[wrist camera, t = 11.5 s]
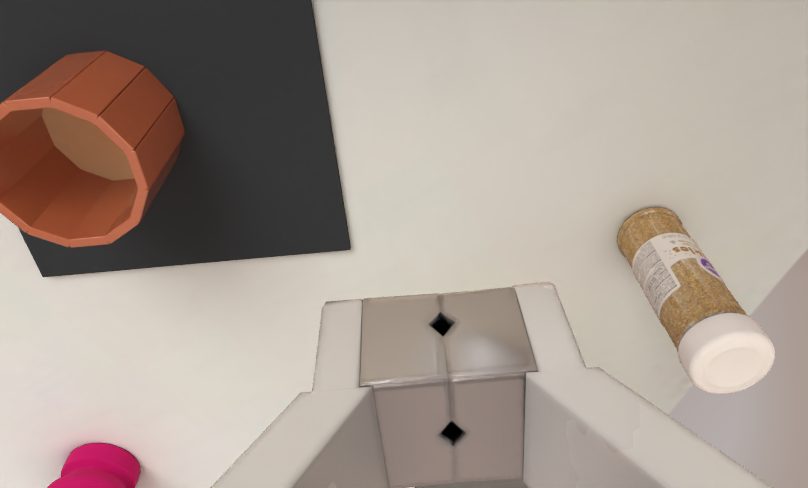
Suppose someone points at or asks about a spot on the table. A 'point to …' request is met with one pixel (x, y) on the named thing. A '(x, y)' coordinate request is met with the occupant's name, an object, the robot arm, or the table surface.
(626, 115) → the table surface
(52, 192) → the cup
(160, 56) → the mat
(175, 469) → the table surface
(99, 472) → the pepper mill
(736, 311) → the spice jar
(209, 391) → the table surface
